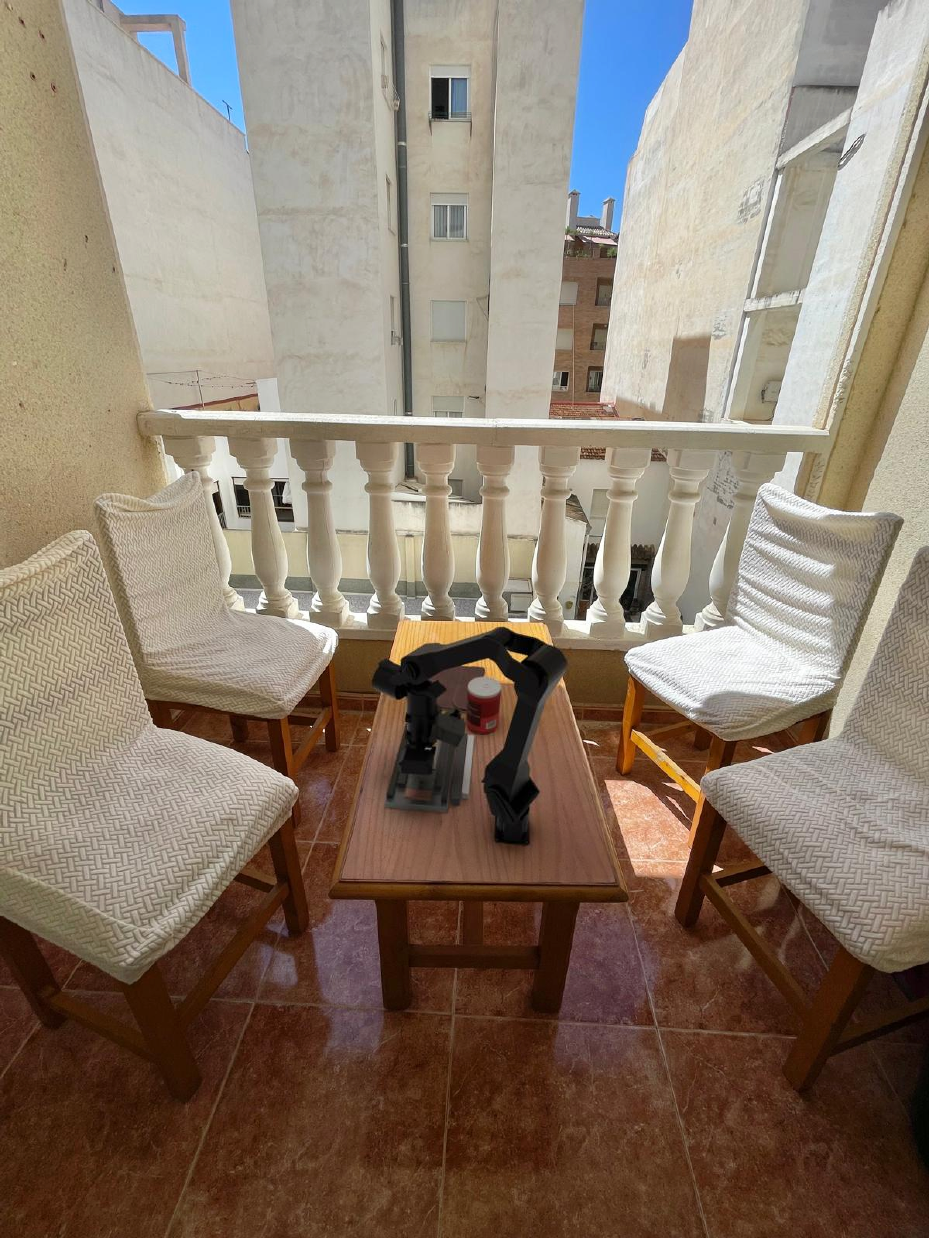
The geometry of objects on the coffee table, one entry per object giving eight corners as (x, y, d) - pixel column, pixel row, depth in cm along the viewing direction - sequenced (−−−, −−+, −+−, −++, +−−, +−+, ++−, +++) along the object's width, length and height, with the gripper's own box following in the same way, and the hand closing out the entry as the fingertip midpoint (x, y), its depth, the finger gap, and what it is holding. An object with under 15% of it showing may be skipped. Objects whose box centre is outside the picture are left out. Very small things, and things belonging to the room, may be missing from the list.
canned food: (501, 717, 134) (504, 679, 129) (494, 738, 127) (497, 698, 122) (471, 711, 135) (472, 673, 130) (462, 731, 128) (463, 692, 123)
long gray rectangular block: (467, 806, 108) (468, 799, 107) (450, 805, 108) (450, 798, 107) (473, 740, 126) (474, 733, 125) (459, 739, 126) (459, 732, 125)
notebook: (414, 708, 136) (414, 702, 136) (431, 666, 154) (431, 660, 153) (474, 716, 134) (474, 709, 134) (484, 673, 152) (485, 667, 151)
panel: (446, 812, 106) (447, 802, 105) (385, 807, 107) (384, 797, 106) (457, 733, 128) (458, 723, 127) (406, 729, 128) (406, 720, 127)
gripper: (460, 741, 97) (457, 807, 104) (466, 682, 113) (464, 742, 120) (397, 737, 97) (398, 802, 104) (413, 679, 114) (413, 738, 121)
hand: (421, 769), depth 112 cm, fingers closed
